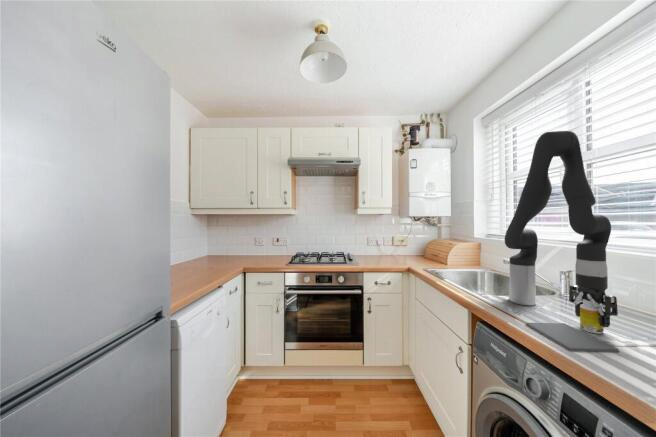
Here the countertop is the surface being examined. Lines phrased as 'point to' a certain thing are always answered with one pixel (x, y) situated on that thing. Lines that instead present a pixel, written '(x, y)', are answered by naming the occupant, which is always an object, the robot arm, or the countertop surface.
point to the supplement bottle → (590, 318)
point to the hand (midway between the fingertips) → (591, 321)
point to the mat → (571, 337)
